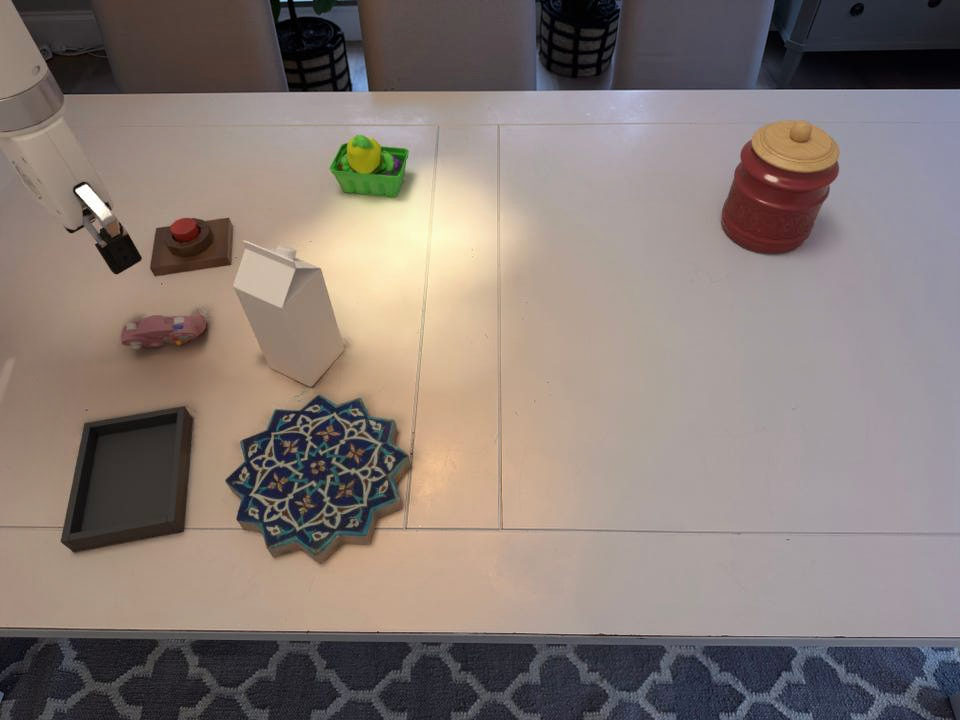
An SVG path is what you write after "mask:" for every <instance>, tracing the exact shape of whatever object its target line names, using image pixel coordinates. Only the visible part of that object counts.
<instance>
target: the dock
mask: <svg viewBox="0 0 960 720" xmlns="http://www.w3.org/2000/svg"><path fill="white" fill-rule="evenodd" d="M193 423H194V418H193V416H192V415H191V414H190V412H189V410H188V409H187V406H185V405H183V406H182V405H181V406H177V407H171V408H164V409H159V410H154V411H147V412H141V413H136V414H130V415H123V416H118V417H111V418H107V419H100V420H94V421H90V422H84V423H83V428H82V431H81V432H82V433H81V437H80V443H79V448H78V452H77V457H76V463H75V468H74V473H73V478H72V483H71V487H70V493H69V498H68V501H67V508H66V513H65V518H64V523H63V528H62V532H61V537H60V543H61V544H62V545H64V546H65V547H66V548H67V549H68V550H70V551H71V552H72V553H78V552H84V551H89V550H94V549H99V548H105V547H109V546H116V545H120V544H125V543H131V542H137V541H142V540H146V539H151V538H152V539H153V538H158V537H163V536H168V535H173V534H179V533H183V532H185V523H186V520H185V519H186V511H187V510H186V509H187V498H188V497H187V495H188V485H189V484H188V483H189V472H190V462H191V461H190V458H191V447H192V436H193V435H192V434H193Z"/></svg>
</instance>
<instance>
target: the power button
mask: <svg viewBox="0 0 960 720" xmlns="http://www.w3.org/2000/svg"><path fill="white" fill-rule="evenodd" d="M191 218H192V217H182V218H179V219H177V220H175V221H173V222H172V223H171V224H170V226H171V232H172V234H173V236H174V238H175V240H176V241H178V242H181V243H182V242H189V241H191V240H193V239H195V238H197V236H198V235H199V234H200V231H199V229H198V226H197V224H196V222H195V221H194V220H193V219H191Z"/></svg>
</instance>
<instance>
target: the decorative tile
mask: <svg viewBox="0 0 960 720" xmlns="http://www.w3.org/2000/svg"><path fill="white" fill-rule="evenodd" d="M397 431H398V428H397V422H396V420H395V419H391V418H384V417H383V418H382V417H375V416H370V414H369V412H368V409H367V407H366V405H365V403H364V401H363V398H362V397H357V398H354V399H351V400H348V401H345V402H342V403H339V404H335V403H334V402H332V401H331V400H329V399H328V398H326V397H325V396H323V395H322V394H320V393H318V394H317V395H316V396H315V397H313V398H312V399H311V400H309V402H308V403H306V404H305V405H304V406H303V407H301V409H299V410H297V409H296V410H295V409H282V408H281V409H280V408H275V409H274V410H273V412H272V415H271V418H270V419H269V422H268V424H267V427H266V429H265V430H263V431H261V432H258V433H256V434H254V435H250V436H249V437H245V438H243V439H241V440H240V441H239V444H240V448H241V451H242V455H243V459H244V461H243V462H242V463H241V464H240V465H239V466H238V467H237V468H236V469H235V470H234V471H232V473H230V475H229V476H227V477H226V478H225V484H226V485H227V486H228V487H229V489H230V491H231V492H232V493H233V494H234V495H236V497H238V498H239V499H240V502H239V506H238V510H237V513H236V518H235V519H236V521H237V522H238V524H239V525H240V527H241V528H242V530H246V531H250V532H255V533H260V534H262V537H263V540H264V544H265V547H266V550H267V551H268V552H269V554H270V556H271V557H272V558H278V557H280V556H281V557H282V556H284V555H287V554H290V553H294V552H297V551H302V552H304V553H305V554H306V555H307V556H308V557H310V558H311V559H312V560H313V561H315V562H316V563H318V564H319V565H322V564H324V562H326V561H327V559H328V558H329V557H331V556H332V555H333V554H334V553H335V552H336V551H337V550H338V549H339V548H340V547H341V546H342V545H345V544H349V545H370V544H371V543H372V540H373V536H374V532H375V528H376V525H377V521H378V520H379V519H380V518H383V517H386V516H388V515H390V514H392V513H395V512H397V511H400V510H402V509H403V503H402V499H401V496H400V493H399V491H398V488H397V484H398V483H399V481H400V480H401V479H402V478H403V477H404V475H405V474H406V473H407V472H408V471H409V469H410V468H411V467H412V464H411V459H410V455H409V454H408V453H407V452H406V451H404V450H403V449H402V448H400V447H398V446H397V445H396V444H395V443H396V440H397V436H398V432H397ZM396 435H397V436H396Z"/></svg>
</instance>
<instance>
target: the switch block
mask: <svg viewBox="0 0 960 720" xmlns="http://www.w3.org/2000/svg"><path fill="white" fill-rule="evenodd" d="M190 218H191V219H193V220H194V221H195V222H196V224H197V226H198V229H199V231H200V234H199V235H198V236H197V238H195V239H193V240H191V241H189V242H182V243H181V242H178V241H176V240H175V238H174V236H173V234H172V232H171V225H167V226H161V227H156V228H155V232H154V240H153V246H152V251H151V258H150V265H149V269H150V271H151V273H152V275H153V276H154V277H160V276H167V275H173V274H179V273H185V272H193V271H200V270H205V269H212V268H218V267H219V268H221V267H225V266H231V265H232V248H233V247H232V246H233V245H232V244H233V223H232V221H231V218H230V217H222V218H215V219H210V220H204V219H201V218H195V217H190Z"/></svg>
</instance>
